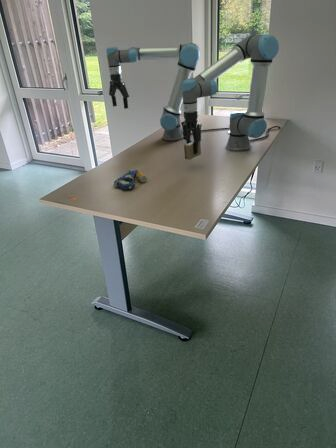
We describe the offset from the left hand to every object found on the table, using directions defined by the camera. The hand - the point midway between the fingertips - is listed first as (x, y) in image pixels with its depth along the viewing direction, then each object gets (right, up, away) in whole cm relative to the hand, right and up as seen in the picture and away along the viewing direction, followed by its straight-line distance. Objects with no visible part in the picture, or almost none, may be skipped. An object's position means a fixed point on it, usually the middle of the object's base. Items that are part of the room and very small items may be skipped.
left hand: (120, 107), depth 229 cm
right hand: (+47, -39, -37) cm, 72 cm away
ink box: (+47, -41, -36) cm, 72 cm away
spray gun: (+13, -57, -45) cm, 74 cm away
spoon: (+84, -5, +31) cm, 90 cm away
